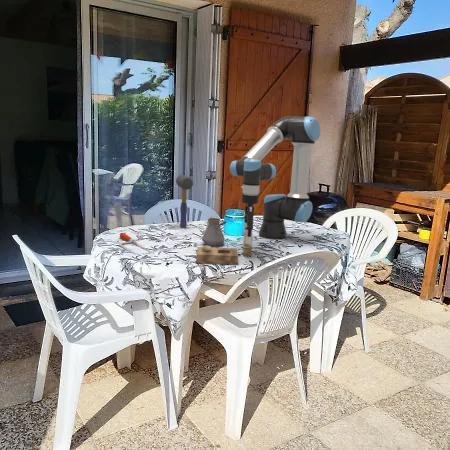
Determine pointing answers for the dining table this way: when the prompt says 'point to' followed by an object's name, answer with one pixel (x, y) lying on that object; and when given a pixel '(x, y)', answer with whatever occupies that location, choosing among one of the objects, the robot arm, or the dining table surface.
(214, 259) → the wooden block with hole
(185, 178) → the rubber mallet
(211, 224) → the coffee pot
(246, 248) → the beech dowel
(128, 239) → the hand saw
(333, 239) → the dining table surface
